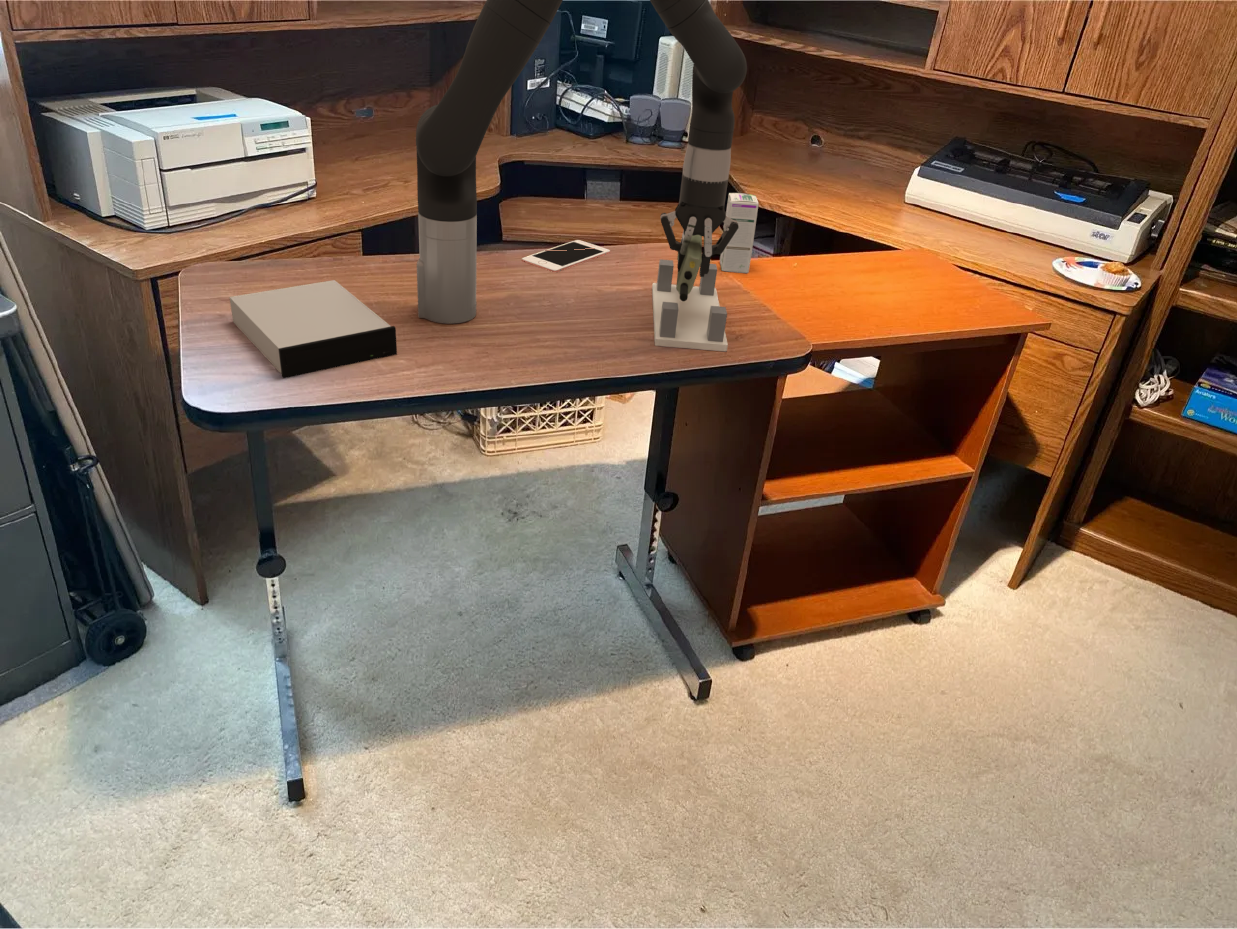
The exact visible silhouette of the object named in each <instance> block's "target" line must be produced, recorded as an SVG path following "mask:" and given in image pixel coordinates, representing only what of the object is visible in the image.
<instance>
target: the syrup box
mask: <svg viewBox="0 0 1237 929" xmlns="http://www.w3.org/2000/svg"><path fill="white" fill-rule="evenodd" d="M727 196H728V198H727V204H726V211H725V213H726V216H727V217H729V218H731V219H735V220H737V222H738V226H739V228H738V230H737V231H736V233H735V234H734V236H733V237H732V239H731V240H730V242H729V243H728V245H727V246H726V248H725V249H724V251H723V252H722V254H719V255H720V256H719V265H720V269H721V271H723V272H729V273H738V274H739V273H740V274H749V272H750V266H751V259H752V252H753V246H754V239H755V233H756V224H757V218H758V211H759V210H758V209H759V204H760V202H759V200H758V198H757V195H756V194H750V193H741V192H728V195H727Z"/></svg>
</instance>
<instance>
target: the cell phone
mask: <svg viewBox="0 0 1237 929" xmlns="http://www.w3.org/2000/svg"><path fill="white" fill-rule="evenodd" d="M585 248H595V249H585ZM574 249H585V250H574ZM547 250H567V251H545V250H542V251H539V252H537V253H536V252H535V253H533V254H530V255H528V256H524V257H522V258H521V262H523V261H525V262H528V263H530V264H529V265H531V264H533V265H532V266H534V265H536V266H535V267H537V266H538V267H537V268H540V267H541V268H540V269H542V268H544V269H543V270H545V269H547V270H546V271H548V270H549V271H548V272H551V271H552V272H551V273H554V272H556V273H560V272H561V271H565V270H567V268H568V269H570V268H573V267H575V266H574V265H576V266H578V265H577V264H579V263H582V262H584V263H586V262H585V261H587V260H590V259H593V260H596V259H597V257H598V258H600V257H599V256H601V257H603V255H604V256H607V255H609V254H608V253H610V254H611V250H610V249H608V248H606V247H602V246H599V245H596V244H593V243H590V242H588V241H587V242H586V241H585V240H584V241H583V240H580V239H576V240H572V241H569V242H566V243H564V244H561V245H557V246H554V247H551V248H548V249H547ZM595 258H596V259H595ZM590 261H591V260H590ZM525 262H524V263H525ZM587 262H588V261H587ZM528 263H527V264H528ZM582 264H583V263H582ZM579 265H580V264H579ZM572 266H573V267H572ZM569 267H570V268H569ZM564 269H565V270H564Z"/></svg>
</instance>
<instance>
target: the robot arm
mask: <svg viewBox="0 0 1237 929" xmlns="http://www.w3.org/2000/svg"><path fill="white" fill-rule="evenodd" d="M649 1H650V3H651V6H653V8H654V9H655V12H656V13H657V14H658V16H659V18H660V19H661V20H662V22H663V24H664V26H666V28H667V29H668V31H669V33H670V34H671V35H672V36H673V37H674V39H675V40H676V41H677V42H678V43H679V44H680V45H681V46H682V47H683V49H684V50H685V52H686V53H687V55H688V57H689V59H690V61H691V62H692V64H693V65H692V75H691V76H692V78H691V79H692V80H691V104H692V106H691V107H692V110H691V118H690V121H689V129H688V137H687V145H686V146H687V147H686V150H685V154H684V158H683V164H682V175H681V184H680V192H679V201H678V204H677V206H676V207H675V210H673V211H671V212H668V213H666V212H662V213H661V214H660V223H661V226H662V228H663V232H664V235H665V237H666V240H667V243H668V246H669V249H670V250H671V251H676V252H677V254H678V253H679V256H678V255H677V256H678V260H677V264H676V266H677V267H676V268H677V273H678V272H679V271H680V268H681V265H682V262H683V260H684V257H685V254H686V251H687V248H688V246H689V243H690V241H691V238H692V236H694V235H700V236H702V237H703V251H702V262H701V265H700V268H699V271H698V274H699V278H701V277H704V274H708V272H709V266H710V264H711V258H712V256H714V255H721V254H722V252H723V251H724V249H725V248H726V246H727V245H728V243H729V242H730V240H731V239H732V237H733V236H734V234H735V233H736V231H737V230H738V228H739V226H738V222H737V220H735V219H731V218H729V217H727V216H726V211H725V205H726V204H725V203H726V196H727V192H728V191H727V188H728V183H729V175H730V169H731V163H732V162H731V160H732V158H731V154H732V145H733V136H734V131H735V119H736V118H735V112H734V111H733V110H734V109H733V104H732V103H733V94H734V91H736V90H737V89H739V87H741V86H742V84H743V82H744V81H745V79H746V75H747V71H748V66H747V65H748V64H747V59H746V57H745V54H744V53H743V50H742V49H741V46H740V45H739V44H738V42H736V40H735V38H734V37H733V35H732V34H731V32H730V31H729V30H728V28H727V27H726V26H725V25H724V24H723V22H722V21H721V19H720V18H719V17H718V15H717V14H716V12H715V11H714V9H713V7H712V5H711V3H710V2H709V0H649ZM562 3H563V0H485V3H484V4H483V6H482V9H481V11H480V12H479V14H478V17H477V19H476V22H475V25H474V26H473V29H472V31H471V34H470V36H469V39H468V42H467V45H466V48H465V51H464V54H463V57H462V60H461V63H460V65H459V68H458V71H457V72H456V74H455V77H454V78H453V80H452V82H451V84H450V85H449V87H448V88H447V90H446V91H445V93H444V95H443V97H442V98H441V100H439V103H438V104H435V105H432V106H431V107H429V108H427V109H426V110H425V111H424V112H422V115H420V117H419V119H418V121H417V123H416V124H417V125H416V130H415V146H416V171H417V172H416V173H417V174H416V175H417V180H416V182H417V184H416V186H417V187H416V189H417V194H416V195H417V213H418V215H417V216H418V219H417V220H418V244H419V245H418V247H419V248H418V249H419V250H418V251H419V258H418V260H417V262H416V288H417V289H416V290H417V317H418V318H421V319H426V320H428V321H431V322H434V323H439V324H452V325H453V324H460V323H465V322H469V321H470V320H473V319H474V318H475V317H476V316H477V304H478V303H477V245H478V244H477V239H478V238H477V233H478V232H477V231H478V230H477V225H478V224H477V222H478V221H477V219H478V218H477V217H478V216H477V214H478V213H477V212H478V210H477V209H478V208H477V207H478V206H477V204H478V198H477V196H478V194H477V155H478V152H479V151H480V148H481V145H482V143H483V140H484V138H485V136H486V133H487V132H488V129H489V127H490V125H491V122H492V120H493V118H494V116H495V114H496V112H497V110H498V108H499V107H500V105H501V102H502V100H503V99H504V97H505V96H506V95H507V93H508V92H509V90H510V89H511V88H512V86H513V85H514V83H515V82H516V81H517V79H518V77H519V76H520V74H521V73H522V71H523V70H524V69H525V67H526V65H527V63H528V62H529V60H530V59H531V57H532V55H533V54H534V52H535V51H536V50H537V49H538V46H539V45H540V43H541V42H542V39H543V37H544V36H545V34H546V33H547V31H548V29H549V27H550V26H551V23H552V22H553V20H554V19H555V16H556V14H557V13H558V10H559V8H560V7H561V5H562ZM675 219H677V221H678V223H679V224H680V226H681V228H682V230H683V231H682V236H681V240H680V242H679V240H676V236H675V233H674V231H673V228H672V227H674V226H675ZM722 223H723V231H722V234H721V236H720V237H719V239H718V240H717V241H716V242H715V244H713V233H714V232H715V231H716V230H717V229H718V228H719V227H720V226H721V225H722Z"/></svg>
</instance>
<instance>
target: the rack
mask: <svg viewBox="0 0 1237 929" xmlns="http://www.w3.org/2000/svg"><path fill="white" fill-rule="evenodd" d="M674 266H675V264H674V260H670V259H663V258H662V259H661V258H659V262H658V270H657V271H658V272H657V279H656V280H657V281H656V282H652V286H651V296H652V297H651V298H652V314H653V315H652V316H653V317H652V318H653V332H654V334H653V335H654V336H653V338H654V340H653V341H654V346H655V347H667V348H677V349H678V348H680V349H692V350H702V351H703V350H704V351H716V352H727V351H728V345H729V344H728V340H727V335H726V324H727V318H728V312H727V306H721V305H720V302H719V298H718V297H719V296H718V292H717V288H716V282H717V274H718V266H717V264H716V263H710V266H709V272H708V274H704V277H700V280H699V286H696V285H695V286H694V285H693V288H692V290H691V292H690V293H689V294H688V298H687V300H686V301H681V300H680V294H679V292H678V291H677V289H676V285H677V284H673V282H672V281H673V275H674Z"/></svg>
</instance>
